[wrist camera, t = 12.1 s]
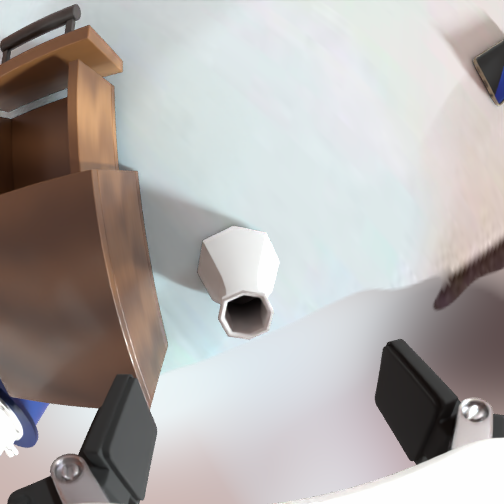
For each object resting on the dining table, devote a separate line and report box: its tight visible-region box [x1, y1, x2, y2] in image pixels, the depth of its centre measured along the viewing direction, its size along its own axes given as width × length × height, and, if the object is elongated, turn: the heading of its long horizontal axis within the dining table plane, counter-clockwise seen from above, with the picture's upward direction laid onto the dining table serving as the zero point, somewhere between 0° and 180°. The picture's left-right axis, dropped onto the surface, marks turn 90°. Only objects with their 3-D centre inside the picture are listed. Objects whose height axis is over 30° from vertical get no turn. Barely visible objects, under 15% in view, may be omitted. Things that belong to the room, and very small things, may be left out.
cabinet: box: [0, 169, 168, 410], centre depth 21 cm, size 17×15×10 cm
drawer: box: [0, 4, 123, 195], centre depth 18 cm, size 20×13×8 cm, turn 5°
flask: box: [197, 226, 279, 339], centre depth 22 cm, size 7×7×10 cm
